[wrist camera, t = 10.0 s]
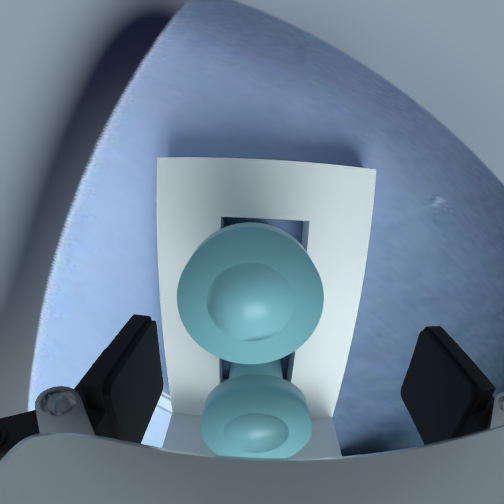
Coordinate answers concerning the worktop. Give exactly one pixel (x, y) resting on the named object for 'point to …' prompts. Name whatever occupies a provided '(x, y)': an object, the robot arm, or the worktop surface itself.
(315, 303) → the teal round plug
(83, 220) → the worktop surface
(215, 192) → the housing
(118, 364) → the robot arm
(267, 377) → the teal flanged peg
